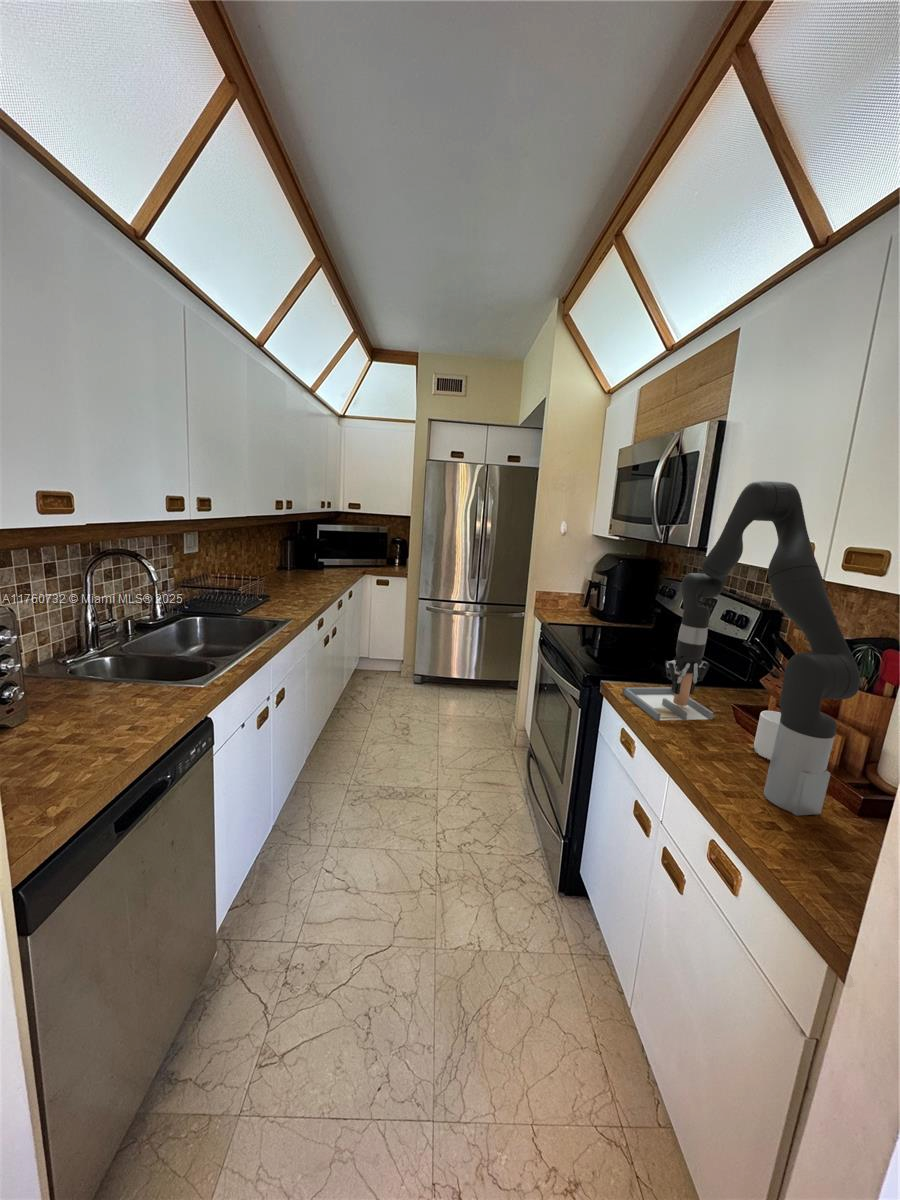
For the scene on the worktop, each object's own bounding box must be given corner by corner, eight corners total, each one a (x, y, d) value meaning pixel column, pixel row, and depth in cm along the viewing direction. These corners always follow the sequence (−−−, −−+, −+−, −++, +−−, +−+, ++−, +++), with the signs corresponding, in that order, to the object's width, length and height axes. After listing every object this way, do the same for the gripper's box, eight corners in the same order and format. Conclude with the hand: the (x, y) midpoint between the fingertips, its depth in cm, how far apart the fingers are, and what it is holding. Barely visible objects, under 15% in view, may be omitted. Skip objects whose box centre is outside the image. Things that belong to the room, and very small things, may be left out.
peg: (690, 705, 142) (696, 674, 140) (678, 706, 141) (684, 674, 139) (681, 700, 146) (687, 670, 144) (670, 700, 145) (675, 670, 143)
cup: (759, 759, 117) (767, 721, 115) (744, 737, 129) (751, 702, 127) (797, 765, 115) (806, 728, 113) (778, 742, 127) (786, 708, 124)
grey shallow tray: (711, 722, 137) (713, 712, 136) (655, 723, 134) (657, 713, 133) (671, 695, 155) (673, 686, 154) (621, 695, 152) (622, 687, 151)
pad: (678, 718, 136) (678, 716, 136) (659, 718, 135) (660, 717, 134) (666, 709, 141) (666, 707, 141) (648, 709, 140) (648, 708, 140)
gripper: (678, 643, 134) (668, 698, 138) (722, 643, 137) (711, 698, 140) (662, 635, 141) (653, 688, 145) (704, 636, 144) (694, 688, 148)
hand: (682, 693), depth 143 cm, fingers closed on peg, 4 cm apart
